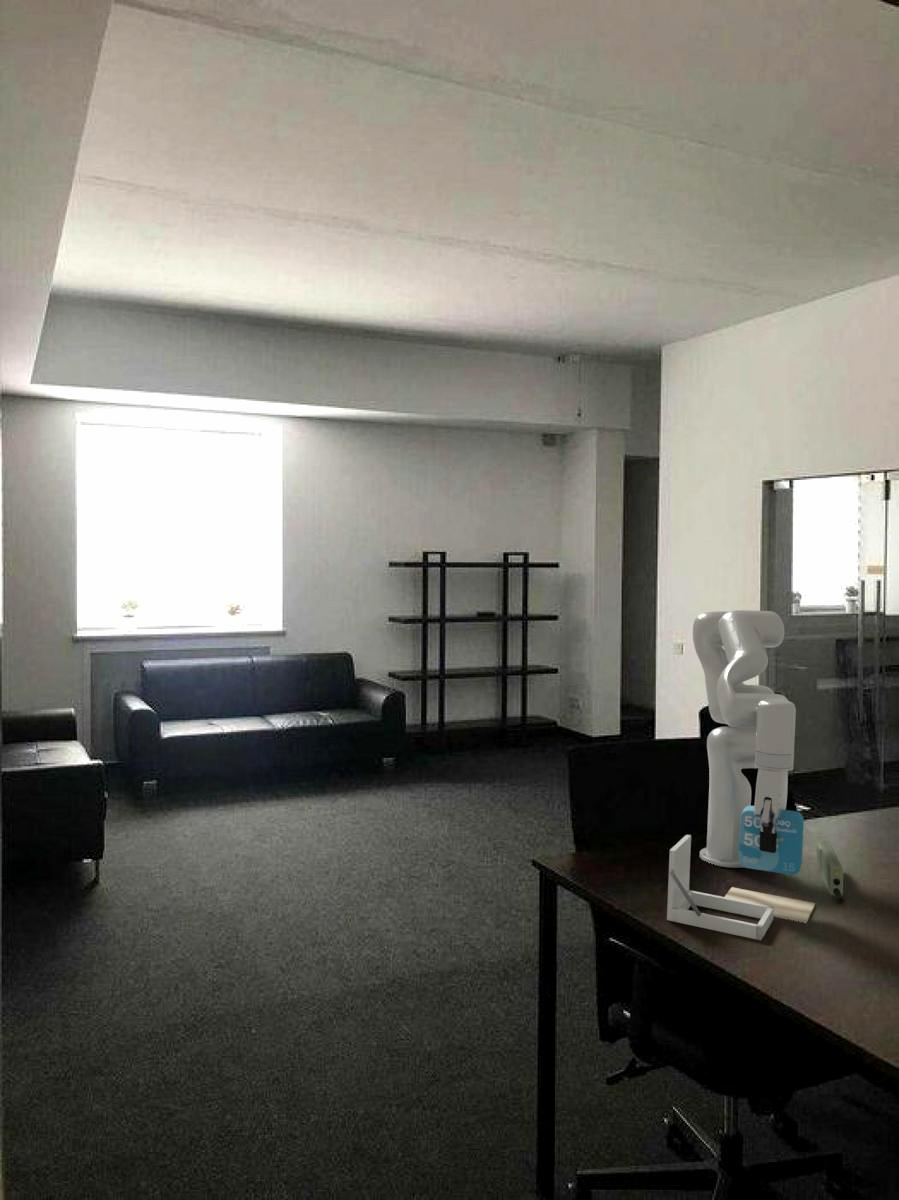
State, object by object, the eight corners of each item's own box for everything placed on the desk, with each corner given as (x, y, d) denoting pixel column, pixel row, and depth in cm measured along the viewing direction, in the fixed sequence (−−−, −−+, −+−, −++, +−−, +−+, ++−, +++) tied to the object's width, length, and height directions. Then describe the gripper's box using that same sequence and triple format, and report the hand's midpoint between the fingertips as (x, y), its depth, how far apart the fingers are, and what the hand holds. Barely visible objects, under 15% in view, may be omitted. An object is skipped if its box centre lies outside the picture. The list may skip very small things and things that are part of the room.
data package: (738, 866, 198) (740, 809, 197) (741, 860, 202) (743, 804, 201) (799, 876, 193) (802, 817, 192) (801, 869, 197) (804, 812, 196)
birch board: (731, 889, 207) (731, 887, 207) (815, 905, 199) (815, 903, 199) (719, 905, 197) (719, 903, 197) (806, 923, 189) (806, 920, 189)
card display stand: (683, 900, 200) (686, 834, 199) (773, 919, 191) (776, 850, 190) (665, 921, 188) (668, 851, 187) (760, 942, 180) (763, 868, 179)
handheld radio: (831, 868, 223) (849, 907, 199) (816, 867, 224) (832, 906, 200) (831, 840, 223) (849, 875, 199) (816, 839, 224) (832, 874, 199)
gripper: (763, 750, 206) (760, 834, 206) (746, 765, 191) (742, 855, 192) (800, 755, 202) (796, 840, 203) (785, 770, 187) (781, 862, 188)
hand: (770, 847), depth 197 cm, fingers closed on data package, 4 cm apart
